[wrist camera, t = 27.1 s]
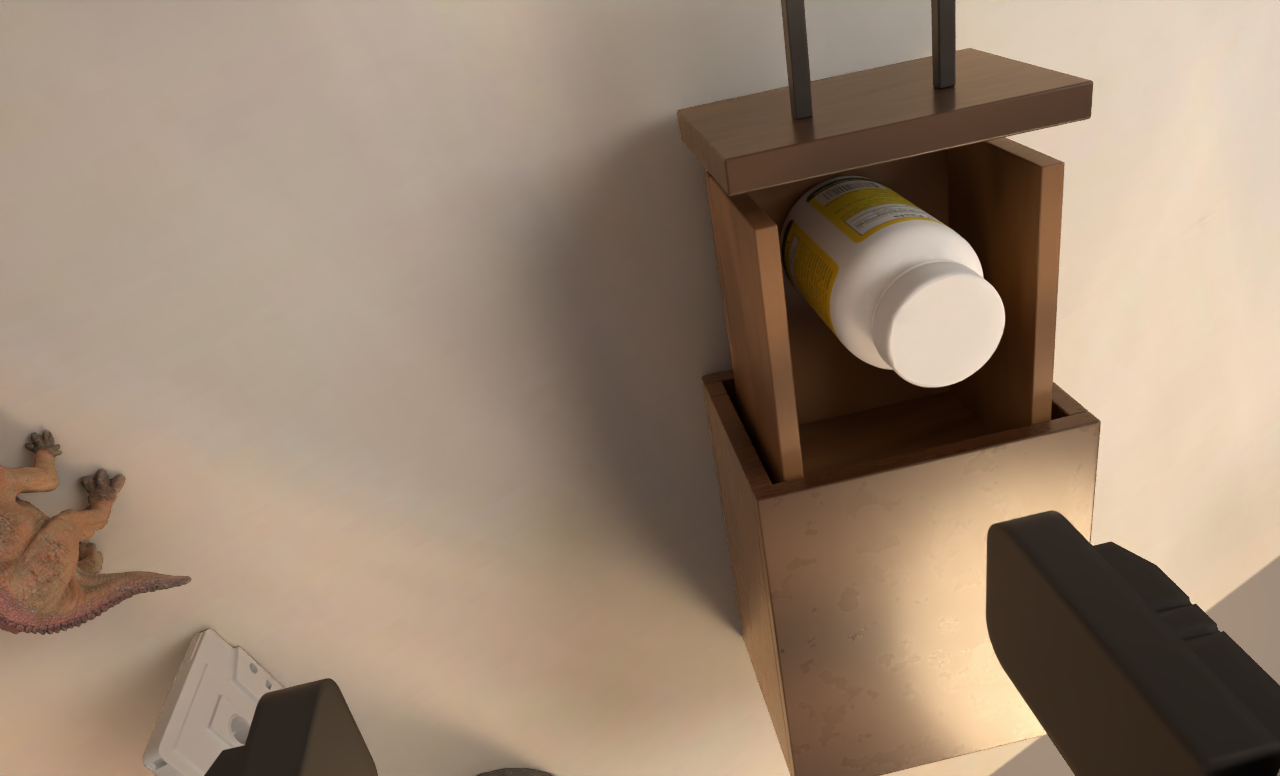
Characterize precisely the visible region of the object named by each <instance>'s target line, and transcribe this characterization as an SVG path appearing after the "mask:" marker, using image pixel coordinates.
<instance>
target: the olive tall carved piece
mask: <svg viewBox="0 0 1280 776" xmlns="http://www.w3.org/2000/svg"><path fill="white" fill-rule="evenodd" d="M478 776H553V775H551V774H549V773H544V772H540V771H536V770H532V769H502V770H497V771H492V772H488V773H483V774H480V775H478Z"/></svg>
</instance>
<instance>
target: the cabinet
mask: <svg viewBox="0 0 1280 776" xmlns="http://www.w3.org/2000/svg"><path fill="white" fill-rule="evenodd" d="M701 379H702V385H703V392H704V398H705V404H706V410H707V416H708V422H709V429H710V435H711V441H712V447H713V453H714V460H715V466H716V472H717V478H718V484H719V491H720V497H721V503H722V509H723V515H724V521H725V528H726V534H727V540H728V546H729V552H730V559H731V565H732V571H733V577H734V583H735V590H736V596H737V602H738V608H739V614H740V620H741V627H742V633H743V639H744V642H745V645H746V647H747V651H748V654H749V656H750V659H751V662H752V665H753V668H754V671H755V674H756V677H757V680H758V683H759V685H760V688H761V691H762V694H763V697H764V700H765V703H766V706H767V709H768V712H769V714H770V717H771V720H772V723H773V726H774V729H775V732H776V735H777V738H778V740H779V743H780V746H781V749H782V752H783V755H784V758H785V761H786V764H787V767H788V769H789V772H790V775H791V776H880V775H884V774H888V773H892V772H896V771H900V770H904V769H908V768H912V767H916V766H920V765H924V764H928V763H932V762H937V761H941V760H945V759H949V758H953V757H957V756H961V755H965V754H969V753H973V752H977V751H981V750H985V749H989V748H993V747H997V746H1001V745H1006V744H1010V743H1014V742H1018V741H1022V740H1026V739H1030V738H1034V737H1038V736H1042V735H1046V734H1047V733H1046V732H1045V730H1044V729H1043V727H1042V726H1041V724H1040V723H1039V721H1038V720H1037V718H1036V717H1035V715H1034V714H1033V712H1032V711H1031V709H1030V708H1029V707H1028V705H1027V704H1026V702H1025V701H1024V699H1023V698H1022V696H1021V695H1020V693H1019V692H1018V690H1017V689H1016V687H1015V686H1014V684H1013V683H1012V681H1011V680H1010V679H1009V677H1008V676H1007V674H1006V673H1005V671H1004V670H1003V668H1002V666H1001V665H1000V663H999V661H998V659H997V657H996V654H995V652H994V649H993V647H992V644H991V641H990V638H989V634H988V629H987V624H986V567H987V534H988V530H989V528H990V526H991V525H992V524H995V523H999V522H1003V521H1008V520H1012V519H1016V518H1020V517H1025V516H1029V515H1033V514H1037V513H1042V512H1046V511H1050V510H1053V511H1057V512H1059V513H1060V514H1062V515H1063V516H1064V517H1065V518H1066V519H1067V520H1068V521H1069V522H1070V523H1071V524H1072V525H1073V526H1074V527H1075V528H1076V529H1077V530H1078V531H1079V532H1080V533H1081V534H1082V535H1083V536H1084V537H1085V538H1086V540H1087V541H1088V542H1089V543H1090V541H1091V529H1092V517H1093V506H1094V494H1095V482H1096V470H1097V459H1098V447H1099V435H1100V423H1101V422H1100V420H1099V419H1097V418H1096V417H1095V416H1094V415H1093V414H1091V413H1090V412H1088V410H1087V409H1085V408H1084V407H1083V406H1082V405H1081V404H1079V403H1078V402H1077V401H1076V400H1074V399H1073V398H1072V397H1071V396H1070V395H1068V394H1067V393H1066V392H1065V391H1064V390H1062V389H1061V388H1060V387H1059V386H1058V385H1056V384H1055V383H1054V382H1053V386H1052V404H1051V420H1049V421H1045V422H1041V423H1036V424H1032V425H1028V426H1023V427H1019V428H1015V429H1010V430H1006V431H1002V432H997V433H993V434H989V435H984V436H980V437H976V438H971V439H967V440H963V441H958V442H954V443H950V444H945V445H941V446H937V447H932V448H928V449H924V450H919V451H915V452H911V453H906V454H902V455H898V456H893V457H889V458H885V459H880V460H876V461H872V462H867V463H863V464H859V465H854V466H850V467H846V468H841V469H837V470H833V471H828V472H824V473H820V474H815V475H811V476H807V477H802V478H798V479H794V480H790V481H785V482H781V483H777V484H772V483H771V481H770V479H769V477H768V475H767V473H766V471H765V469H764V467H763V465H762V463H761V461H760V459H759V457H758V454H757V452H756V450H755V448H754V446H753V444H752V442H751V440H750V438H749V436H748V434H747V432H746V430H745V428H744V426H743V424H742V422H741V420H740V417H739V410H738V403H737V396H736V389H735V382H734V375H733V370H730V371H725V372H721V373H716V374H712V375H708V376H703V377H702V378H701Z"/></svg>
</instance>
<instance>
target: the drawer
mask: <svg viewBox="0 0 1280 776" xmlns="http://www.w3.org/2000/svg"><path fill="white" fill-rule="evenodd" d="M781 6H782V17H783V28H784V39H785V50H786V61H787V72H788V83H789V86H788V87H784V88H779V89H774V90H769V91H765V92H760V93H755V94H750V95H746V96H741V97H736V98H732V99H727V100H722V101H717V102H713V103H708V104H703V105H698V106H694V107H689V108H684V109H680V110H678V111H677V115H678V122H679V129H680V135H681V139H682V141H683V142H684V143H685V144H686V145H687V147H688V148H689V149H690V150H691V151H692V153H693V154H694V155H695V156H696V157H697V158H698V160H699V161H700V162H701V163H702V164H703V165H704V167H705V168H706V169H707V170H708V171H705V177H706V184H707V191H708V198H709V205H710V212H711V219H712V226H713V234H714V241H715V248H716V255H717V262H718V269H719V276H720V283H721V290H722V297H723V304H724V311H725V318H726V325H727V332H728V339H729V346H730V354H731V361H732V368H733V375H734V382H735V389H736V396H737V403H738V410H739V417H740V420H741V422H742V424H743V426H744V428H745V430H746V432H747V434H748V436H749V438H750V440H751V442H752V444H753V446H754V448H755V450H756V452H757V454H758V457H759V459H760V461H761V463H762V465H763V467H764V469H765V471H766V473H767V475H768V477H769V479H770V481H771V483H772V484H777V483H781V482H785V481H790V480H794V479H798V478H802V477H807V476H811V475H815V474H820V473H824V472H828V471H833V470H837V469H841V468H846V467H850V466H854V465H859V464H863V463H867V462H872V461H876V460H880V459H885V458H889V457H893V456H898V455H902V454H906V453H911V452H915V451H919V450H924V449H928V448H932V447H937V446H941V445H945V444H950V443H954V442H958V441H963V440H967V439H971V438H976V437H980V436H984V435H989V434H993V433H997V432H1002V431H1006V430H1010V429H1015V428H1019V427H1023V426H1028V425H1032V424H1036V423H1041V422H1045V421H1049V420H1051V404H1052V386H1053V367H1054V349H1055V330H1056V311H1057V293H1058V274H1059V255H1060V237H1061V218H1062V199H1063V181H1064V162H1062V161H1059V160H1057V159H1055V158H1052V157H1050V156H1047V155H1045V154H1043V153H1040V152H1038V151H1036V150H1033V149H1031V148H1029V147H1026V146H1024V145H1022V144H1019V143H1017V142H1015V141H1012V140H1010V139H1007V138H1005V137H1007V136H1011V135H1016V134H1021V133H1025V132H1030V131H1034V130H1039V129H1044V128H1048V127H1053V126H1058V125H1062V124H1067V123H1071V122H1076V121H1081V120H1085V119H1089V118H1090V117H1091V107H1092V92H1093V81H1091V80H1087V79H1083V78H1079V77H1076V76H1072V75H1068V74H1064V73H1061V72H1057V71H1053V70H1049V69H1046V68H1042V67H1038V66H1035V65H1031V64H1027V63H1023V62H1020V61H1016V60H1012V59H1008V58H1005V57H1001V56H997V55H994V54H990V53H986V52H982V51H979V50H975V49H971V48H968V49H963V50H959V51H955V0H931V7H932V56H930V57H925V58H921V59H916V60H911V61H907V62H902V63H897V64H892V65H888V66H883V67H878V68H873V69H869V70H864V71H859V72H855V73H850V74H845V75H840V76H836V77H831V78H826V79H821V80H817V81H812V82H810V70H809V58H808V46H807V33H806V21H805V8H804V0H781ZM841 176H861V177H866V178H869V179H872V180H875V181H877V182H879V183H881V184H883V185H884V186H886V187H888V188H889V189H891V190H893V191H894V192H896V193H897V194H899V195H900V196H902V197H903V198H905V199H907V200H908V201H910V202H911V203H913V204H914V205H916V206H917V207H919V208H920V209H922V210H923V211H925V212H926V213H928V214H929V215H931V216H932V217H934V218H936V219H937V220H938V221H940V222H942V223H943V224H945V225H946V226H948V227H949V228H951V229H952V230H954V231H955V232H956V233H957V234H959V235H960V236H961V237H962V238H964V239H965V240H966V241H967V242H968V243H969V244H970V246H971V247H972V248H973V250H974V251H975V253H976V255H977V256H978V259H979V261H980V264H981V267H982V271H983V277H984V279H985V280H986V281H988V282H989V283H990V284H991V285H992V286H993V287H994V288H995V290H996V291H997V292H998V294H999V296H1000V297H1001V300H1002V303H1003V306H1004V311H1005V325H1004V330H1003V334H1002V337H1001V339H1000V342H999V344H998V346H997V348H996V350H995V351H994V353H993V354H992V356H991V357H990V359H989V360H988V361H987V362H986V363H985V364H984V365H983V366H982V367H981V368H980V369H979V370H977V371H976V372H975V373H973V374H972V375H971V376H969V377H967V378H965V379H964V380H962V381H959V382H957V383H955V384H951V385H948V386H943V387H922V386H917V385H914V384H912V383H910V382H908V381H906V380H904V379H903V378H901V377H900V376H899V375H898V374H897V373H896V372H895V371H894V370H890V369H883V368H879V367H875V366H873V365H870V364H868V363H866V362H864V361H862V360H861V359H859V358H858V357H856V356H855V355H854V354H852V353H851V352H850V351H849V350H848V349H847V348H846V347H845V346H844V345H843V344H842V343H841V342H840V340H839V339H838V338H837V337H836V335H835V334H834V333H833V332H832V330H831V329H830V328H829V327H828V326H827V325H826V324H825V322H824V321H823V320H822V319H821V318H820V317H819V315H818V314H817V313H816V312H815V310H814V309H813V308H812V307H811V306H810V305H809V303H808V302H807V301H806V300H805V299H804V298H803V297H802V296H801V295H800V293H799V292H798V291H797V290H796V289H795V288H794V286H793V285H792V284H791V282H790V281H789V279H788V278H787V276H786V274H785V272H784V270H783V267H782V264H781V255H780V246H779V241H780V235H781V231H782V227H783V224H784V222H785V220H786V217H787V216H788V214H789V212H790V210H791V209H792V207H793V206H794V205H795V204H796V202H797V201H798V200H799V199H800V198H801V197H802V196H803V195H804V194H805V193H806V192H808V191H809V190H810V189H812V188H813V187H815V186H816V185H818V184H820V183H822V182H824V181H826V180H829V179H832V178H836V177H841Z"/></svg>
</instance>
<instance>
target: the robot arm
mask: <svg viewBox="0 0 1280 776" xmlns="http://www.w3.org/2000/svg"><path fill="white" fill-rule="evenodd" d="M986 624H987V629H988V634H989V638H990V641H991V644H992V647H993V649H994V652H995V654H996V657H997V659H998V661H999V663H1000V665H1001V666H1002V668H1003V670H1004V671H1005V673H1006V674H1007V676H1008V677H1009V679H1010V680H1011V681H1012V683H1013V684H1014V686H1015V687H1016V689H1017V690H1018V692H1019V693H1020V695H1021V696H1022V698H1023V699H1024V701H1025V702H1026V704H1027V705H1028V707H1029V708H1030V709H1031V711H1032V712H1033V714H1034V715H1035V717H1036V718H1037V720H1038V721H1039V723H1040V724H1041V726H1042V727H1043V729H1044V730H1045V732H1046V733H1047V735H1048V736H1049V738H1050V739H1051V740H1052V742H1053V743H1054V745H1055V746H1056V748H1057V749H1058V751H1059V752H1060V754H1061V755H1062V757H1063V758H1064V760H1065V761H1066V762H1067V764H1068V766H1069V767H1070V768H1071V770H1072V771H1073V773H1074V774H1075V776H1280V686H1279V685H1278V684H1277V682H1275V681H1274V680H1273V679H1272V678H1271V677H1270V676H1269V675H1268V674H1267V673H1266V672H1265V671H1264V670H1263V669H1262V668H1261V667H1260V666H1259V665H1258V664H1257V663H1256V662H1255V661H1254V660H1253V659H1252V658H1251V657H1250V656H1249V655H1248V654H1247V653H1246V652H1245V651H1244V650H1243V649H1242V648H1241V647H1240V646H1239V645H1238V644H1236V643H1235V642H1234V641H1233V640H1232V639H1231V638H1230V637H1229V636H1228V635H1227V634H1226V633H1225V632H1224V631H1223V632H1220V631H1219V630H1218V628H1217V624H1216V623H1215V622H1214V621H1213V620H1212V619H1211V618H1210V617H1209V616H1208V615H1207V614H1206V613H1205V612H1204V611H1203V610H1202V609H1201V608H1200V607H1199V606H1198V605H1197V604H1194V605H1192V604H1191V602H1190V600H1189V597H1188V596H1187V595H1186V594H1185V593H1184V592H1183V591H1182V590H1181V589H1180V588H1179V587H1178V586H1177V585H1176V584H1175V583H1174V582H1173V581H1172V580H1171V579H1170V578H1169V577H1168V576H1167V575H1166V574H1165V573H1164V572H1163V571H1162V570H1161V569H1160V568H1159V567H1158V566H1157V565H1155V564H1153V563H1151V562H1149V561H1147V560H1145V559H1143V558H1142V557H1140V556H1138V555H1136V554H1134V553H1132V552H1130V551H1128V550H1126V549H1124V548H1122V547H1121V546H1119V545H1117V544H1115V543H1113V542H1108V543H1103V544H1099V545H1095V546H1092V545H1091V544H1090V543H1089V542H1088V541H1087V540H1086V538H1085V537H1084V536H1083V535H1082V534H1081V533H1080V532H1079V531H1078V530H1077V529H1076V528H1075V527H1074V526H1073V525H1072V524H1071V523H1070V522H1069V521H1068V520H1067V519H1066V518H1065V517H1064V516H1063V515H1062V514H1060V513H1059V512H1057V511H1053V510H1050V511H1046V512H1042V513H1037V514H1033V515H1029V516H1025V517H1020V518H1016V519H1012V520H1008V521H1003V522H999V523H995V524H992V525H991V526H990V528H989V530H988V534H987V567H986ZM204 776H378V773H377V769H376V766H375V763H374V761H373V758H372V756H371V754H370V752H369V750H368V748H367V746H366V744H365V741H364V739H363V737H362V735H361V733H360V731H359V729H358V727H357V725H356V722H355V720H354V718H353V716H352V714H351V712H350V710H349V708H348V706H347V703H346V701H345V699H344V697H343V695H342V693H341V691H340V689H339V687H338V685H337V684H336V683H335V682H334V681H333V680H332V679H330V678H327V679H323V680H318V681H314V682H310V683H306V684H301V685H297V686H293V687H289V688H284V689H280V690H276V691H271V692H267V693H265V694H264V695H263V696H262V697H261V698H260V700H259V701H258V704H257V707H256V710H255V713H254V716H253V720H252V723H251V726H250V729H249V733H248V736H247V739H246V743H245V745H243V746H239V747H235V748H230V749H226V750H222V752H221V753H220V754H219V756H218V757H217V759H216V760H215V761H214V763H213V764H212V765H211V767H210V768H209V769H208V771H207V772H206V774H205V775H204Z"/></svg>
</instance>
